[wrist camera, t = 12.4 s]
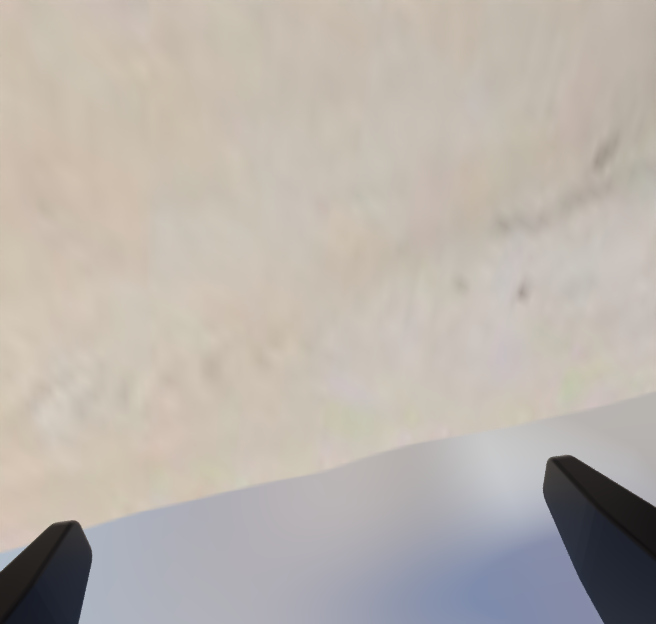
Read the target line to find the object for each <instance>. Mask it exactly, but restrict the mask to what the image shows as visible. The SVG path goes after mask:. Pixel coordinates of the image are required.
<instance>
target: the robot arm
mask: <svg viewBox="0 0 656 624" xmlns="http://www.w3.org/2000/svg"><path fill="white" fill-rule="evenodd" d="M543 493H544V498H545V501H546V503H547V506H548V508H549V510H550V513H551V515H552V517H553V519H554V522H555V524H556V526H557V528H558V531H559V533H560V535H561V538H562V540H563V543H564V545H565V547H566V549H567V552H568V554H569V556H570V559H571V561H572V563H573V565H574V568H575V570H576V572H577V574H578V576H579V579H580V580H581V582H582V584H583V586H584V588H585V590H586V592H587V594H588V595H589V597H590V599H591V601H592V603H593V604H594V606H595V608H596V610H597V611H598V613H599V615H600V617H601V619H602V621H603V622H604V624H656V507H655V506H653V505H651V504H650V503H648V502H647V501H645V500H643V499H642V498H640V497H639V496H637V495H635V494H634V493H632V492H630V491H629V490H627V489H625V488H624V487H622V486H621V485H619V484H617V483H616V482H614V481H613V480H611V479H609V478H608V477H606V476H604V475H603V474H601V473H599V472H598V471H596V470H595V469H593V468H591V467H590V466H588V465H587V464H585V463H583V462H582V461H580V460H578V459H577V458H575V457H573V456H571V455H563V456H555V457H551V458H549V459H548V461H547V464H546V471H545V477H544V484H543ZM91 563H92V550H91V547H90V545H89V542H88V540H87V538H86V536H85V534H84V532H83V530H82V527H81V525H80V524H79V522H77V521H74V520H71V521H64V522H57V523H54V524H52V525H51V526H49V527H48V528H47V529H46V530H45V531H44V532H43V533H42V534H41V535H39V536H38V537H37V538H36V539H35V540H34V541H33V542H32V543H31V544H30V545H29V546H28V547H27V548H26V549H24V551H22V552H21V553H20V554H19V555H18V556H17V557H16V558H15V559H14V560H13V561H12V562H11V563H9V564H8V565H7V566H6V567H5V568H4V569H3V570H2V571H1V572H0V624H78V623H79V618H80V614H81V609H82V605H83V600H84V595H85V591H86V586H87V582H88V577H89V572H90V568H91Z"/></svg>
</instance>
